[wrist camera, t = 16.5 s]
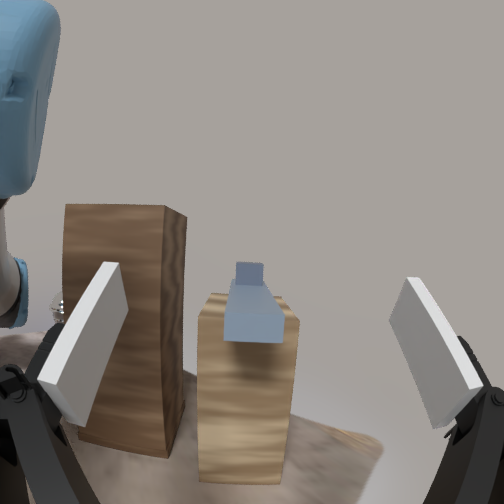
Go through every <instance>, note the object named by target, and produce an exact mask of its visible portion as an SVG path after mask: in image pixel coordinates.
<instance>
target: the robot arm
mask: <svg viewBox="0 0 504 504" xmlns="http://www.w3.org/2000/svg"><path fill="white" fill-rule="evenodd" d="M60 28H61V27H60V19H59V15H58V13H57V11H56V9H55V8H54V7H53V6H52V5H51V4H50V3H48V2H46V1H43V0H0V328H9V329H12V328H14V327H21V326H23V325H25V323H26V321H27V316H28V272H27V266H26V263H25V261H24V260H22V259H18V258H13V257H12V256H11V254H10V253H9V252H8V251H7V243H6V232H5V217H4V206H5V205H6V203H7V202H8V200H9V199H10V197H11V196H12V195H21V194H24V193H25V192H26V191H27V190H28V189H29V188H30V187H31V186H32V183H33V181H34V180H35V176H36V172H37V167H38V162H39V157H40V150H41V145H42V139H43V133H44V127H45V121H46V114H47V107H48V99H49V95H50V92H51V86H52V81H53V75H54V70H55V65H56V59H57V53H58V46H59V40H60ZM128 310H129V309H128V305H127V300H126V296H125V291H124V286H123V281H122V276H121V271H120V266H119V263H116V262H103V264H102V265H101V267H100V268H99V270H98V271H97V273H96V274H95V276H94V278H93V279H92V281H91V282H90V284H89V286H88V287H87V289H86V290H85V292H84V294H83V295H82V297H81V299H80V300H79V302H78V304H77V305H76V307H75V309H74V311H73V312H72V314H71V316H70V317H69V319H68V321H67V323H66V324H63V323H56V324H55V325H54V326H53V327H52V328H50V330H48V332H47V333H46V335H45V337H44V339H43V340H42V341H43V342H41V344H40V346H39V347H38V350H37V351H36V353H35V355H34V357H33V358H32V360H31V362H30V364H29V366H28V368H27V370H26V372H25V374H24V373H23V371H22V370H21V368H19V367H18V366H17V365H13V364H8V365H4V366H3V367H1V368H0V504H30V503H29V497H28V492H27V486H26V480H27V482H28V485H29V487H30V490H31V492H32V495H33V497H34V499H35V502H36V504H100V502H99V501H98V499H97V497H96V495H95V494H94V492H93V490H92V488H91V486H90V485H89V483H88V481H87V479H86V477H85V475H84V473H83V471H82V469H81V467H80V465H79V463H78V461H77V459H76V457H75V455H74V453H73V451H72V448H71V446H70V444H69V442H68V439H67V437H66V435H65V432H64V430H63V427H62V425H61V424H60V419H61V416H62V415H63V417H64V418H65V419H66V421H67V422H68V423H72V424H75V425H79V426H83V427H85V426H86V423H87V420H88V417H89V414H90V411H91V408H92V405H93V402H94V399H95V396H96V393H97V390H98V387H99V385H100V382H101V379H102V376H103V373H104V371H105V368H106V365H107V363H108V360H109V357H110V355H111V352H112V350H113V347H114V344H115V342H116V339H117V337H118V334H119V332H120V329H121V327H122V325H123V322H124V320H125V317H126V315H127V313H128ZM389 322H390V324H391V326H392V329H393V331H394V333H395V335H396V337H397V340H398V342H399V344H400V346H401V349H402V351H403V354H404V356H405V358H406V360H407V363H408V365H409V368H410V370H411V373H412V375H413V377H414V380H415V382H416V385H417V387H418V390H419V392H420V395H421V398H422V400H423V403H424V406H425V408H426V410H427V414H428V416H429V419H430V422H431V425H432V427H433V429H437V428H440V427H444V426H447V425H448V424H449V423H450V422H451V421H452V420H453V419H454V418H455V419H456V421H457V424H456V425H455V426H454V427H453V428H452V429H451V430H450V431H448V432H447V434H446V435H445V436H444V438H447V437H448V436H449V435H450V434H451V436H450V438H449V442H448V445H447V448H446V451H445V453H444V456H443V459H442V461H441V464H440V466H439V469H438V471H437V474H436V476H435V479H434V481H433V483H432V485H431V487H430V490H429V492H428V494H427V496H426V498H425V500H424V502H423V504H504V391H503V390H502V389H500V388H498V387H492V386H491V384H490V382H489V380H488V378H487V377H486V375H485V373H484V371H483V369H482V367H481V365H480V364H479V362H478V361H477V358H476V356H475V355H474V354H473V351H472V349H471V348H470V346H469V344H468V343H467V342H466V341H465V340H464V339H463V338H462V337H461V336H456V335H455V333H454V331H453V329H452V328H451V326H450V325H449V323H448V321H447V320H446V318H445V317H444V315H443V313H442V312H441V310H440V309H439V307H438V305H437V304H436V302H435V301H434V299H433V297H432V296H431V294H430V293H429V291H428V290H427V288H426V287H425V285H424V284H423V282H422V281H421V279H420V278H415V277H407V278H406V280H405V282H404V285H403V287H402V290H401V293H400V295H399V298H398V300H397V302H396V305H395V307H394V309H393V312H392V314H391V316H390V319H389ZM25 477H26V480H25Z"/></svg>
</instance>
